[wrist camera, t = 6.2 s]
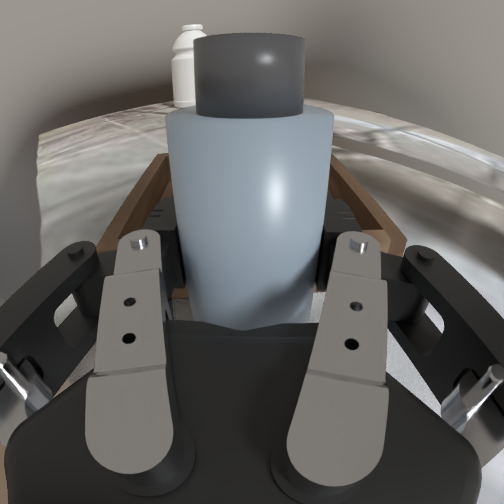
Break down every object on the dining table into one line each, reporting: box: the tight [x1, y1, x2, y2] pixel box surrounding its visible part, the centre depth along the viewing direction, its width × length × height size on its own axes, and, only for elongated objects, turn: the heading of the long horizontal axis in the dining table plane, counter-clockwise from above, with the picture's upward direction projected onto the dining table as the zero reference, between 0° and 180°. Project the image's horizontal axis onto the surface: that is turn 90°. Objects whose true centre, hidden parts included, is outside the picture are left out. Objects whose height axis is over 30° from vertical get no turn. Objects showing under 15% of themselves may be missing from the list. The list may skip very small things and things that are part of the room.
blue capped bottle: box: [165, 33, 334, 330], centre depth 10 cm, size 4×4×14 cm
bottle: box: [171, 24, 207, 108], centre depth 85 cm, size 14×14×28 cm
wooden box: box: [96, 153, 407, 298], centre depth 26 cm, size 19×19×4 cm
